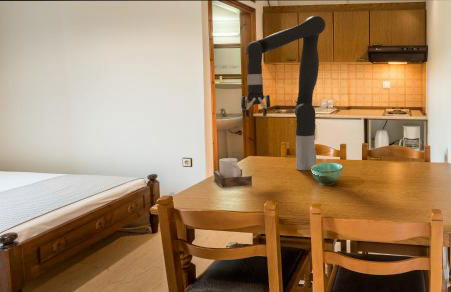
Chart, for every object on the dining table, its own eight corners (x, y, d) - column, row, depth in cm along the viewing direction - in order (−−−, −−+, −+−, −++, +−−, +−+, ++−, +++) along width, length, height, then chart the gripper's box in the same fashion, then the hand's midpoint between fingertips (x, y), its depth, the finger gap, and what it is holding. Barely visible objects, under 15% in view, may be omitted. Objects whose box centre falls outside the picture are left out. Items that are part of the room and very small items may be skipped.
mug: (247, 182, 228) (246, 160, 226) (233, 185, 223) (232, 162, 221) (230, 179, 237) (229, 157, 236) (216, 181, 232) (215, 159, 230)
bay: (241, 177, 240) (241, 169, 239) (251, 185, 223) (251, 176, 222) (214, 179, 237) (214, 171, 236) (222, 187, 220) (222, 178, 219)
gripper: (266, 83, 251) (267, 115, 254) (238, 84, 248) (240, 117, 250) (271, 83, 244) (272, 116, 247) (243, 84, 241) (244, 118, 243)
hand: (256, 116), depth 248 cm, fingers open, 8 cm apart
